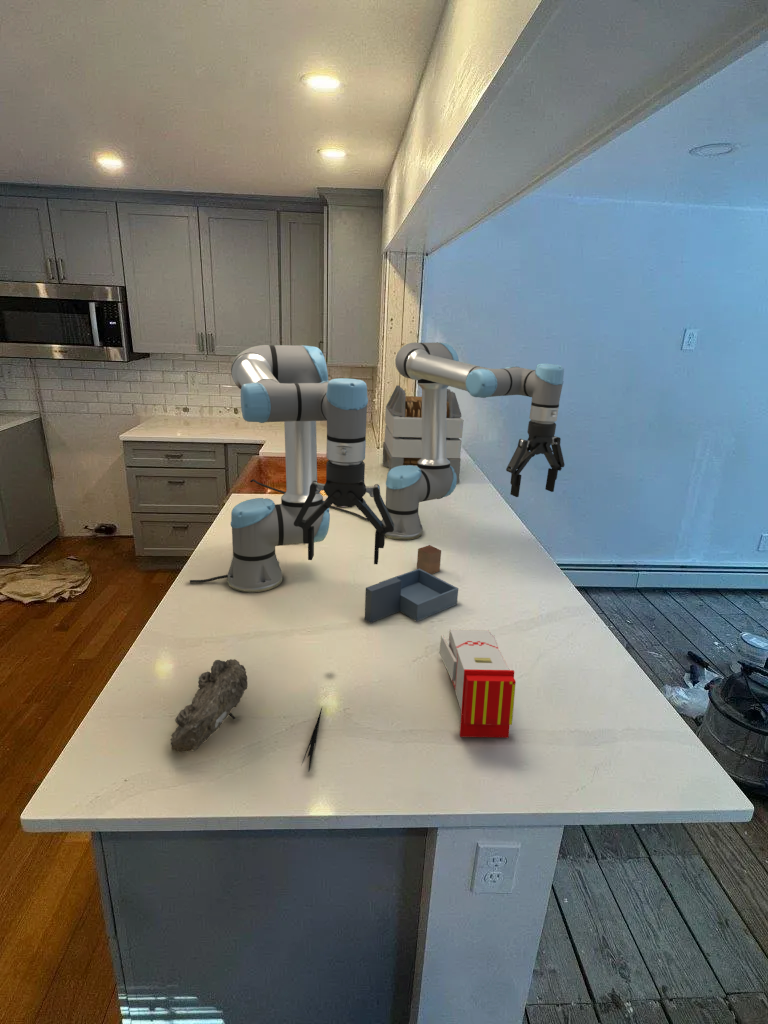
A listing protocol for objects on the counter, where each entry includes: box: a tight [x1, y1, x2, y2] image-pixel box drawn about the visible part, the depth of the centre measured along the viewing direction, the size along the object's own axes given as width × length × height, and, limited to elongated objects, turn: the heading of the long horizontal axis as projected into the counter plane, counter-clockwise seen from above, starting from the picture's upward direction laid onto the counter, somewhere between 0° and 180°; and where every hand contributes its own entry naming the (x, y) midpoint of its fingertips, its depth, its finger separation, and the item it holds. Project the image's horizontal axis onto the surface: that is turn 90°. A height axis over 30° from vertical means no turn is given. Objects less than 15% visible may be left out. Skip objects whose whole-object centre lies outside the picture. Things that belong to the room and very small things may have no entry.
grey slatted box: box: [381, 384, 464, 484], centre depth 268 cm, size 34×33×41 cm
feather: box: [301, 673, 332, 771], centre depth 108 cm, size 2×28×2 cm
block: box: [416, 544, 442, 575], centre depth 172 cm, size 5×5×7 cm
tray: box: [364, 568, 459, 624], centre depth 150 cm, size 15×25×9 cm, turn 131°
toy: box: [438, 628, 517, 738], centre depth 117 cm, size 12×13×30 cm
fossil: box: [170, 658, 249, 753], centre depth 106 cm, size 22×10×15 cm
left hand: (343, 559), depth 118 cm, fingers open, 13 cm apart
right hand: (532, 493), depth 166 cm, fingers open, 13 cm apart
